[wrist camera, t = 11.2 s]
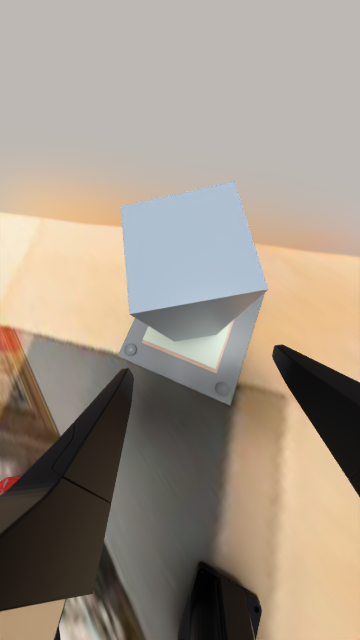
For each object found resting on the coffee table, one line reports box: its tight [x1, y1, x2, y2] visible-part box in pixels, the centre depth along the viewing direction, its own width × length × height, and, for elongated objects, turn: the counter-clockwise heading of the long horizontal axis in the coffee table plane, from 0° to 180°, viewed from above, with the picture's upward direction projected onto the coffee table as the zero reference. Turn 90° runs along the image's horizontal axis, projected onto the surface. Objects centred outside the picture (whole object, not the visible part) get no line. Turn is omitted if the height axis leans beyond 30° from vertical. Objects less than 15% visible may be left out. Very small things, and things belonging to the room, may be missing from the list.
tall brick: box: [121, 182, 268, 342], centre depth 12 cm, size 5×5×12 cm
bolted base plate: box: [118, 293, 265, 405], centre depth 20 cm, size 16×16×4 cm
